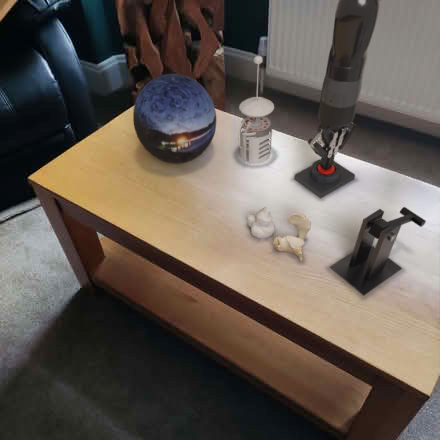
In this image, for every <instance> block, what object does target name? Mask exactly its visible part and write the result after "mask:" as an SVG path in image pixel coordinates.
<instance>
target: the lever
mask: <svg viewBox="0 0 440 440" xmlns="http://www.w3.org/2000/svg"><path fill="white" fill-rule="evenodd" d="M399 214H400V215H402V216H400V217H397V218H394V219H391V220H388V221H387V220H385V219H384V218H382V219H380V220H377V221H374V222H373V224H372V226H371V228H370V230H369V232H368V233H370V234H371V235H372V236H374V237H375V239H376V240H378V238H379V236H380V233H381V231H383V230H384V229H386V228H388V227H389V226H391V225H392V224H394V223H395V222H397V221H399V222H400V223H402V225H405V224H407V223H410V222H412V223H414V224H415V225H417V226H418V227H420V228H422V227H424V226H425V224H426V222H427V221H426V220H425V219H424V218H422V216H420V215H418V214H416V213H415V212H413V211H412V210H410V209H409V208H407V207H406V206H403V207H402V208H401V209H400V211H399ZM402 225H401V226H402Z"/></svg>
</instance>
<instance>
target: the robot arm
mask: <svg viewBox="0 0 440 440" xmlns="http://www.w3.org/2000/svg"><path fill="white" fill-rule="evenodd" d="M381 1H382V0H337V1H336V8H335V15H334V21H333V30H332V31H333V33H332V41H331V45H330V48H329V52H328V57H327V58H328V59H327V64H326V70H325V75H324V78H323V81H322V87H321V93H320V99H319V100H320V101H319V105H318V113H317V117H318V120H319V126H318V128H317V131H316V135H315V137H314V138H309V139H308V140H307V144H308V145H309V147H310V148H311V150H312V151H313V152H314V153H315V155H317V156H319V157H320V160H321V162H320V166H321V168H323V169H324V170H326V171H327V170H329V169H330V168H332V164H333V161H335V156H336V155H337V154H338V152H339V150H343V149H344V147H345V146H346V144H347V142H348V140H349V139H350V138H351V136H352V135H353V133H354V131H355V130H356V128H357V124H355V123H354V122H353V121H354V120H355V117H356V113H357V108H358V106H359V105H358V104H359V100H360V95H361V92H362V85H363V79H364V72H365V69H366V63H367V58H368V53H369V47H370V44H371V41H372V39H373V35H374V31H375V28H376V25H377V21H378V16H379V12H380V8H381V7H380V6H381Z"/></svg>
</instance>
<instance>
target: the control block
mask: <svg viewBox="0 0 440 440" xmlns="http://www.w3.org/2000/svg"><path fill="white" fill-rule="evenodd" d="M320 162H321V159H318V160H317V159H316V160H315V161H314V162H312V164H311V165H310V166H308V167H306V168H304V169H303V170H301V171H298V172H297V173H295V174H294V178H293V179H294V181H295V182H297V183H299V184H300V185H301V186H303V187H304V188H305V189H306V190H308V191H310V192H311V194H313V195H315V196H316V197H317V198H319V199H320V200H321V199H323V198H325V197H327V196H328V195H330V194H331V193H333V192H335V191H337V190H338V189H341V188H342V187H343V186H345V185H348V184H349V183H350V182H353V181H354V180H355V177H356V174H355V173H354V172H352V171H350V170H349V169H347V168H346V167H345V166H343V165H342V164H339V162H337V161H335V160H334V161H333V164H332V165H334V167H335V171H334V173H332V174H327V175H326V174H321V173H320V172H318V171H317V167H318V165H319V164H320Z"/></svg>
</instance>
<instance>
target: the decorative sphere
mask: <svg viewBox="0 0 440 440" xmlns="http://www.w3.org/2000/svg"><path fill="white" fill-rule="evenodd" d="M133 106H134V107H133V115H132V116H133V118H132V119H133V128H134V131H135V134H136V136H137V139H138V141H139V142H140V144H141V145H142V147H143V148H144V149H145V150H146V151H147V152H148V153H149V154H150V155H152V156H153V158H154V157H155V158H156V159H158V160H160V161H162V162H166V163H170V164H182V163H187V162H191V161H193V160H195V159H196V158H198V157H200V156H201V155H202V154H203V153H204V152H205V151H206V150H207V149H208V147H209V146H210V145H211V143H212V141H213V139H214V136H215V133H216V128H217V111H216V108H215V103H214V101H213V99H212V97H211V96H210V94H209V92H208V91H207V90H206V88H205V87H204V86H203V85H202V84H201V83H199V82H198V81H197V80H195V79H193V78H192V77H190V76H187V75H184V74H179V73H167V74H162V75H160V76H157V77H155V78H153V79H151V80H150V81H149V82H148V83H146V84H145V86H144V87H143V88H142V89H141V90H140V92H139V93H138V95H137V97H136V100H135V103H134V105H133Z"/></svg>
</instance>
